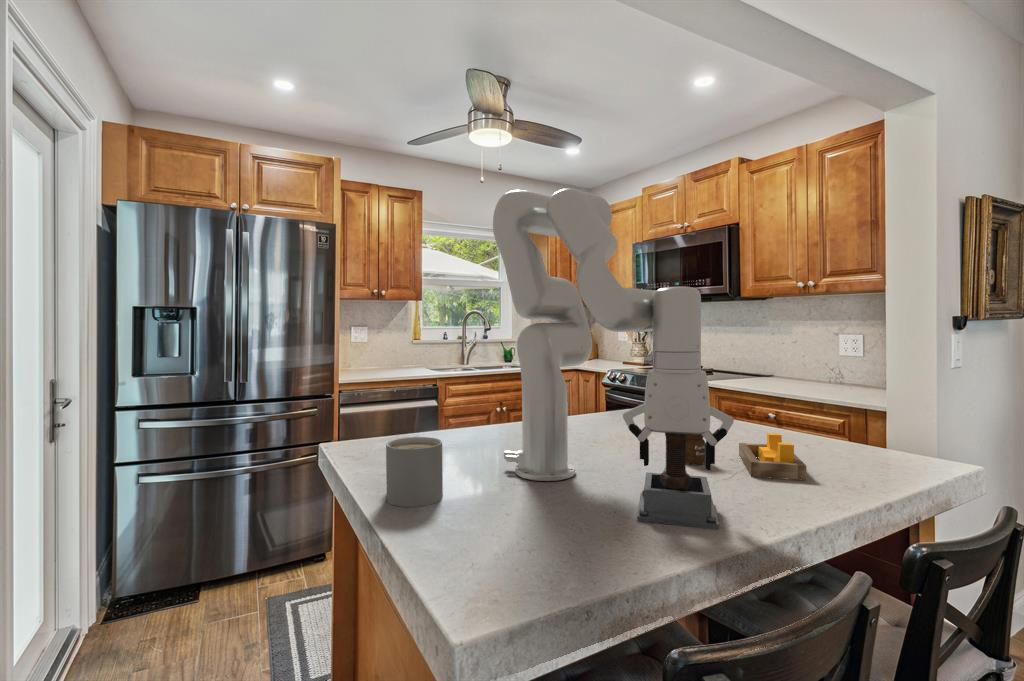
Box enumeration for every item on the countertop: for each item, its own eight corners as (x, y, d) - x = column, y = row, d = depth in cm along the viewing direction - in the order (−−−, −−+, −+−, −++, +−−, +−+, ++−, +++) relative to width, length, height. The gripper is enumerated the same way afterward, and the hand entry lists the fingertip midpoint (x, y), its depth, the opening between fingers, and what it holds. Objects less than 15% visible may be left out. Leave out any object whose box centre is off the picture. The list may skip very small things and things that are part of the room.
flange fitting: (637, 521, 79) (637, 490, 79) (642, 486, 97) (642, 461, 97) (719, 529, 76) (719, 497, 76) (708, 491, 94) (709, 465, 94)
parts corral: (751, 476, 103) (751, 462, 103) (738, 455, 120) (738, 442, 120) (806, 480, 100) (806, 465, 100) (785, 458, 117) (785, 445, 117)
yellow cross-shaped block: (758, 460, 116) (758, 432, 116) (779, 461, 115) (779, 433, 115) (770, 475, 105) (770, 444, 105) (793, 476, 104) (794, 445, 103)
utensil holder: (673, 462, 114) (673, 409, 114) (684, 457, 119) (684, 406, 119) (699, 467, 110) (700, 412, 110) (709, 461, 115) (709, 408, 115)
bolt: (654, 501, 86) (654, 413, 86) (683, 500, 87) (683, 413, 86) (667, 513, 80) (667, 419, 80) (698, 512, 81) (698, 419, 81)
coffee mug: (449, 502, 89) (449, 445, 89) (393, 510, 85) (392, 451, 85) (429, 481, 101) (428, 431, 101) (378, 488, 97) (377, 436, 97)
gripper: (620, 363, 82) (621, 468, 82) (736, 364, 77) (736, 476, 77) (624, 360, 89) (624, 457, 89) (730, 361, 84) (730, 464, 84)
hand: (676, 466), depth 83 cm, fingers open, 9 cm apart
